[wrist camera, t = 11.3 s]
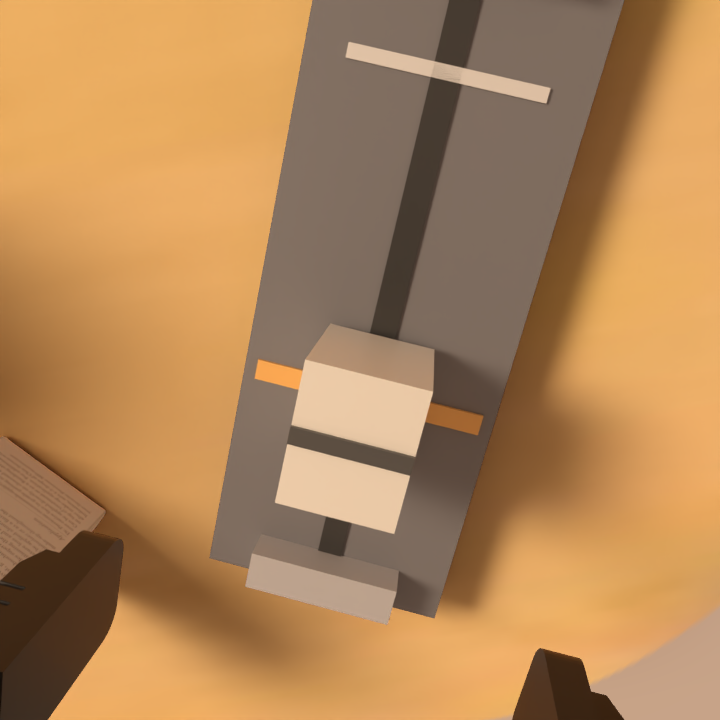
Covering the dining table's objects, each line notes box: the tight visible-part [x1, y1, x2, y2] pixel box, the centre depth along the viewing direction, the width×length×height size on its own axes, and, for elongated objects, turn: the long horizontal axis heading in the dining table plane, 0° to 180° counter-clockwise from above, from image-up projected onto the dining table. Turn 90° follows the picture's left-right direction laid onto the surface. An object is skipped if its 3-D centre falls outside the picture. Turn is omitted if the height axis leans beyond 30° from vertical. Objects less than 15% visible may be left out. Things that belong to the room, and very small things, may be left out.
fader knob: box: [275, 324, 434, 534], centre depth 24 cm, size 5×4×5 cm
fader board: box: [210, 0, 624, 625], centre depth 26 cm, size 26×10×4 cm, turn 167°
